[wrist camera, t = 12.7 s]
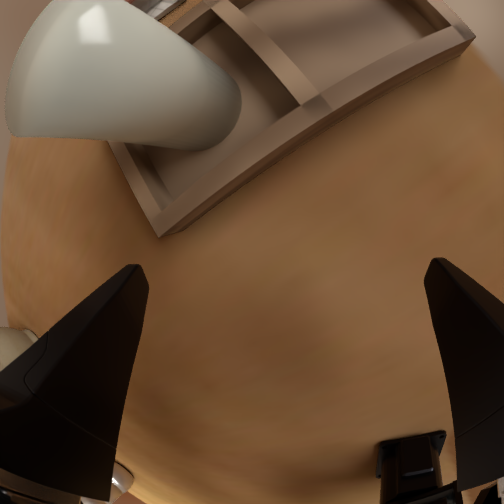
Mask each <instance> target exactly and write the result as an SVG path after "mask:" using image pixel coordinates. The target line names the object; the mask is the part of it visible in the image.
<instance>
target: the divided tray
mask: <svg viewBox="0 0 504 504" xmlns="http://www.w3.org/2000/svg"><path fill="white" fill-rule="evenodd" d="M169 29H170V30H172V31H173V32H174V33H176V34H177V35H179V36H180V37H182V38H183V39H184V40H186V41H187V42H188V43H190V44H191V45H193V46H194V47H195V48H197V49H198V50H199V51H200V52H202V53H203V54H204V55H206V56H207V57H208V58H210V59H211V60H212V61H213V62H215V63H216V64H217V65H218V66H220V67H221V68H222V69H223V70H224V71H226V72H227V73H228V74H229V75H230V76H231V77H232V78H233V79H234V80H235V81H236V83H237V84H238V86H239V89H240V92H241V97H242V107H241V113H240V116H239V119H238V121H237V123H236V125H235V127H234V128H233V130H232V131H231V133H230V134H229V135H228V136H227V137H226V138H225V139H224V140H223V141H222V142H220V143H219V144H217V145H215V146H214V147H212V148H209V149H206V150H202V151H187V150H180V149H173V148H166V147H159V146H152V145H143V144H135V143H126V142H116V141H108V143H109V145H110V147H111V150H112V152H113V154H114V156H115V158H116V160H117V162H118V164H119V166H120V168H121V170H122V172H123V174H124V176H125V178H126V179H127V181H128V183H129V185H130V187H131V189H132V191H133V193H134V195H135V197H136V198H137V200H138V202H139V204H140V206H141V208H142V210H143V211H144V213H145V215H146V217H147V219H148V220H149V222H150V224H151V226H152V227H153V229H154V231H155V233H156V234H157V236H158V238H160V237H163V236H166V235H170V234H173V233H176V232H180V231H183V230H184V229H186V228H187V227H188V226H190V225H191V224H192V223H193V222H195V221H196V220H197V219H199V218H200V217H201V216H203V215H204V214H205V213H207V212H208V211H209V210H211V209H212V208H213V207H215V206H216V205H217V204H219V203H220V202H221V201H223V200H224V199H225V198H227V197H228V196H230V195H231V194H232V193H234V192H235V191H236V190H238V189H239V188H241V187H242V186H243V185H245V184H246V183H248V182H249V181H250V180H252V179H253V178H255V177H256V176H258V175H259V174H260V173H262V172H263V171H265V170H266V169H268V168H269V167H271V166H272V165H273V164H275V163H276V162H278V161H279V160H281V159H282V158H284V157H285V156H287V155H288V154H290V153H291V152H293V151H294V150H296V149H297V148H299V147H300V146H302V145H303V144H305V143H306V142H308V141H309V140H311V139H313V138H314V137H316V136H317V135H319V134H320V133H322V132H324V131H325V130H327V129H328V128H330V127H331V126H333V125H335V124H336V123H338V122H339V121H341V120H343V119H344V118H346V117H348V116H349V115H351V114H353V113H354V112H356V111H358V110H359V109H361V108H363V107H364V106H366V105H368V104H369V103H371V102H373V101H374V100H376V99H378V98H380V97H381V96H383V95H385V94H387V93H388V92H390V91H392V90H394V89H396V88H397V87H399V86H401V85H403V84H405V83H406V82H408V81H410V80H412V79H414V78H416V77H418V76H419V75H421V74H423V73H425V72H427V71H429V70H431V69H433V68H435V67H437V66H439V65H441V64H443V63H445V62H447V61H449V60H451V59H453V58H455V57H457V56H459V55H461V54H462V53H463V52H464V51H465V50H466V48H467V47H468V46H469V45H470V44H471V42H472V41H473V40H474V39H475V38H476V36H475V35H474V33H473V32H472V31H471V30H470V29H469V27H468V26H467V25H466V24H465V23H464V22H463V21H462V20H461V19H460V18H459V17H458V16H457V14H456V13H455V12H454V11H453V10H452V9H451V8H450V7H449V6H448V5H447V4H446V3H445V2H444V1H443V0H203V1H201V2H200V3H199V4H197V5H196V6H195V7H193V8H192V9H191V10H189V11H188V12H187V13H186V14H184V15H183V16H182V17H181V18H179V19H178V20H177V21H176V22H174V23H173V24H172V25H171V26H170V27H169Z"/></svg>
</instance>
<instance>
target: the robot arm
mask: <svg viewBox="0 0 504 504" xmlns="http://www.w3.org/2000/svg"><path fill="white" fill-rule="evenodd" d="M424 286H425V290H426V295H427V299H428V304H429V309H430V314H431V319H432V323H433V328H434V331H435V335H436V339H437V343H438V346H439V350H440V355H441V359H442V363H443V368H444V372H445V377H446V382H447V387H448V393H449V398H450V404H451V411H452V418H453V426H454V435H455V448H456V463H457V480H455V481H453V483H450V484H447V485H445V486H443V483H442V475H441V468H440V461H439V456H440V453H441V450H442V447H443V445H444V442H445V439H446V436H447V434H446V431H444V430H443V431H438V432H434V433H429V434H425V435H420V436H415V437H409V438H403V439H397V440H390V441H384V442H381V443H380V444H379V452H378V461H377V468H376V478H381V490H380V504H463V499H462V494H461V491H464V490H467V489H471V488H474V487H477V486H480V485H483V484H486V483H488V482H492V481H494V480H496V482H495V483H493V484H491V485H490V486H488V487H486V488H484V489H483V490H481V492H480V493H479V495H478V497H477V499H476V501H475V502H474V504H504V304H503V303H502V302H501V301H500V300H499V299H497V298H496V297H495V296H494V295H492V294H491V293H490V292H489V291H488V290H486V289H485V288H484V287H483V286H481V285H480V284H479V283H477V282H476V281H475V280H474V279H472V278H471V277H470V276H468V275H467V274H466V273H464V272H463V271H462V270H460V269H459V268H458V267H456V266H455V265H454V264H452V263H451V262H449V261H448V260H447V259H445V258H442V257H440V258H433V259H432V260H431V262H430V265H429V267H428V270H427V272H426V275H425V277H424ZM148 293H149V284H148V281H147V279H146V276H145V274H144V271H143V269H142V267H141V266H140V265H139V264H128V265H126V266H125V267H124V268H122V269H121V270H120V271H119V272H117V273H116V274H115V275H114V276H112V277H111V278H110V279H109V280H107V281H106V282H105V283H104V284H102V285H101V286H100V287H99V288H97V289H96V290H95V291H94V292H92V293H91V294H90V295H89V296H88V297H86V298H85V299H84V300H83V301H82V302H80V303H79V304H78V305H77V306H76V307H74V308H73V309H72V310H71V311H70V312H69V313H67V314H66V315H65V316H64V317H63V318H62V319H61V320H59V321H58V322H57V323H56V324H55V325H54V326H53V327H51V328H50V329H49V331H47V332H46V333H45V334H44V335H43V336H41V337H40V338H39V339H38V340H37V341H36V342H35V343H34V344H32V345H31V346H30V347H29V348H28V349H27V350H25V351H24V352H23V353H22V354H21V355H19V356H18V357H17V358H16V359H15V360H13V361H12V362H11V363H10V364H9V365H7V366H6V367H5V368H4V369H3V370H1V371H0V504H83V502H82V501H81V497H86V498H90V499H95V500H100V501H105V502H109V501H110V494H111V485H112V477H113V469H114V462H115V455H116V448H117V442H118V436H119V430H120V425H121V419H122V414H123V409H124V404H125V399H126V395H127V390H128V386H129V381H130V377H131V373H132V368H133V364H134V360H135V356H136V352H137V348H138V345H139V341H140V337H141V333H142V327H143V322H144V315H145V310H146V304H147V298H148Z"/></svg>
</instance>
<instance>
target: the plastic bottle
mask: <svg viewBox="0 0 504 504" xmlns="http://www.w3.org/2000/svg"><path fill="white" fill-rule="evenodd" d="M132 484H133V477H132V475H131V474H130V473H129V472H128V471H127V470H126V469H124V468H123V467H122V466H120V465H119V464H117V463H116V462H114V469H113V477H112V485H111V494H110V501H109V502H105V501H100V500H95V499H90V498H86V497H81V501H82V502H83V504H112V503H113V502H114V501H115V500H116V499H117V498H118V497H120V495H122V493H125V492H126V491H127V490H128V489H130V488H131V486H132Z"/></svg>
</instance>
